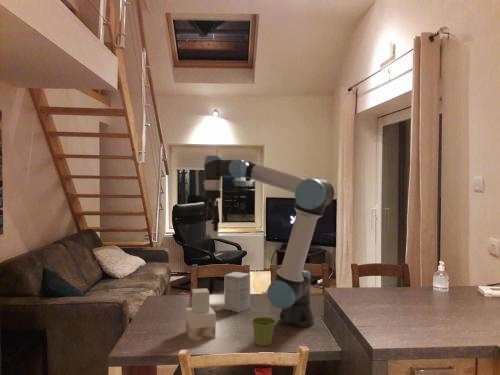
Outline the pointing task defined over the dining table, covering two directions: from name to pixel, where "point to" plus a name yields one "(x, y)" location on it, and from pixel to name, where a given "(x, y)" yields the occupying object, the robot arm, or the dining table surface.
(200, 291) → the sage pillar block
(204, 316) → the tower top block
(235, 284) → the supplement box
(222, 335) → the dining table surface
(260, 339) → the plant pot
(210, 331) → the tower bottom block
